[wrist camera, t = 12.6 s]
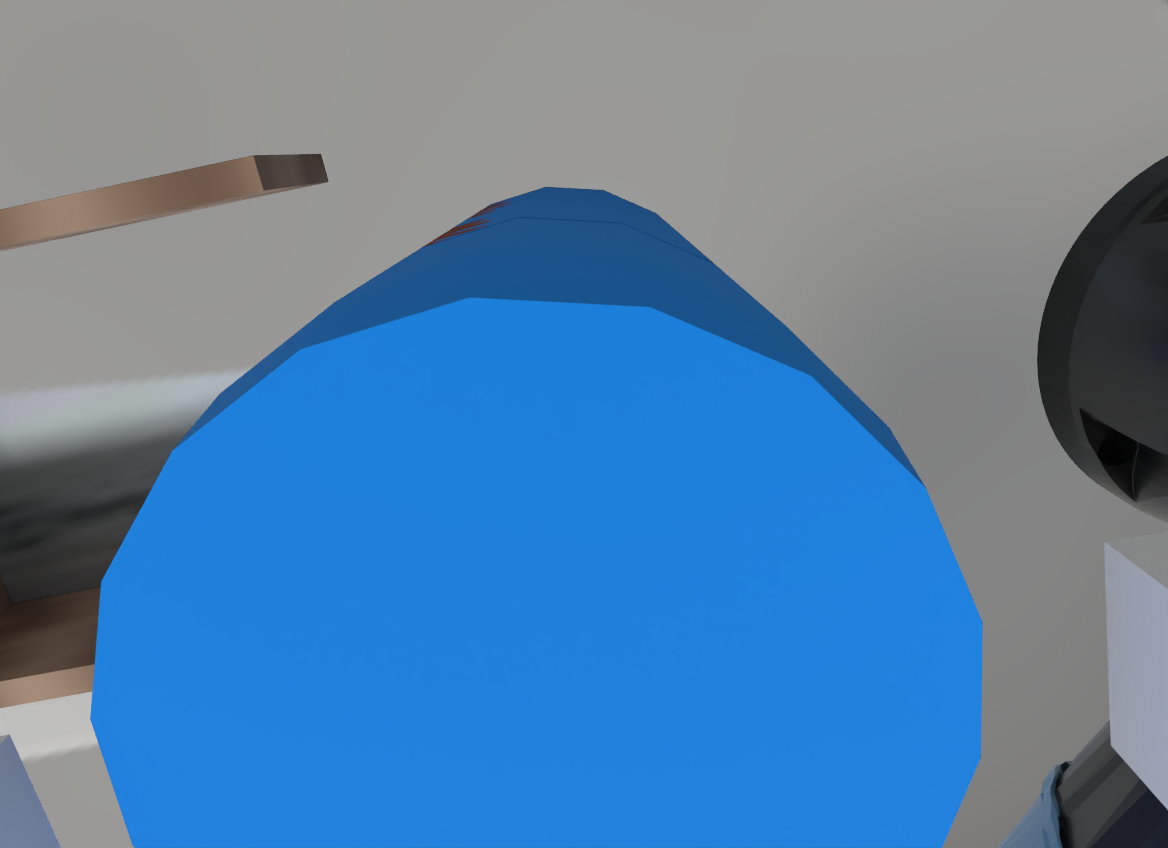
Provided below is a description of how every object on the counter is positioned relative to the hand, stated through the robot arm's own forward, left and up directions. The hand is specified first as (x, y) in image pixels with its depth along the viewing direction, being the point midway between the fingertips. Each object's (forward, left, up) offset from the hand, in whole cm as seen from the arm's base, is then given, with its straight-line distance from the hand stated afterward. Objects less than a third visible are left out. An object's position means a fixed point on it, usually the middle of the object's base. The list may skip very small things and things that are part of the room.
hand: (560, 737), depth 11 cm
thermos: (0, 0, -25) cm, 25 cm away
